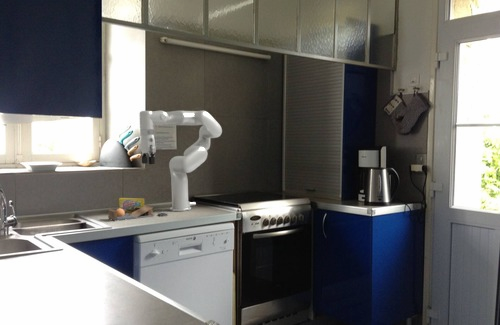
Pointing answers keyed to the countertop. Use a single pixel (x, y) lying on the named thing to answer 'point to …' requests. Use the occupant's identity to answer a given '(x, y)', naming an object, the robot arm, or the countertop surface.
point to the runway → (131, 216)
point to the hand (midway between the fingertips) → (148, 163)
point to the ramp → (144, 210)
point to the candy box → (131, 204)
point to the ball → (120, 212)
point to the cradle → (162, 214)
